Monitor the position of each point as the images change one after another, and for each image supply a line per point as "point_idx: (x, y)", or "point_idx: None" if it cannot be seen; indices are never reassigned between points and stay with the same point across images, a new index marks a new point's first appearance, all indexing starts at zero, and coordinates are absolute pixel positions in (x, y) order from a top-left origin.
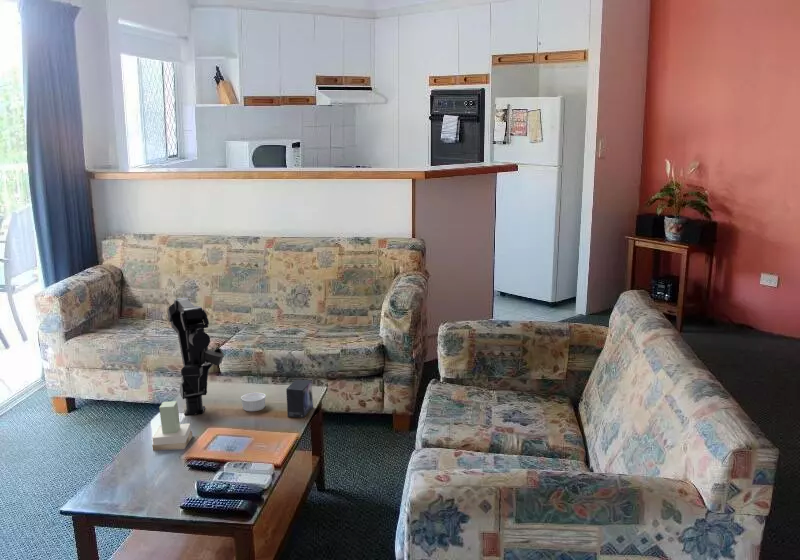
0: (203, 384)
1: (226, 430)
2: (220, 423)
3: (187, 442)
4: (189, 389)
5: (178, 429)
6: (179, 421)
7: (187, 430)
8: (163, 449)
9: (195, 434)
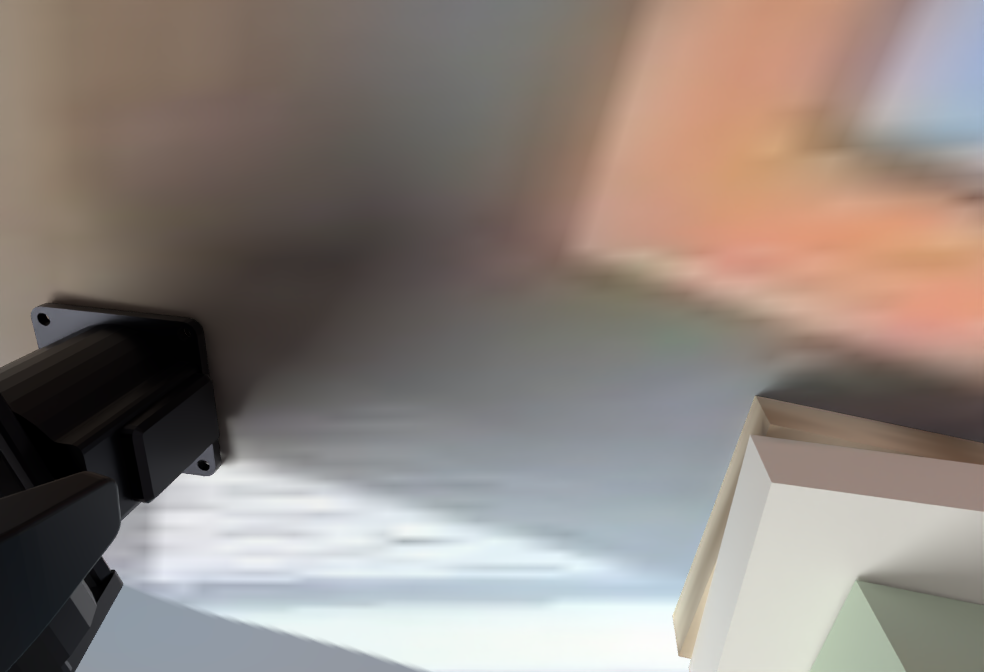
0: (93, 550)
1: (732, 29)
2: (483, 121)
3: (948, 441)
4: (48, 626)
5: (932, 596)
6: (891, 639)
7: (970, 503)
8: None
9: (717, 369)
